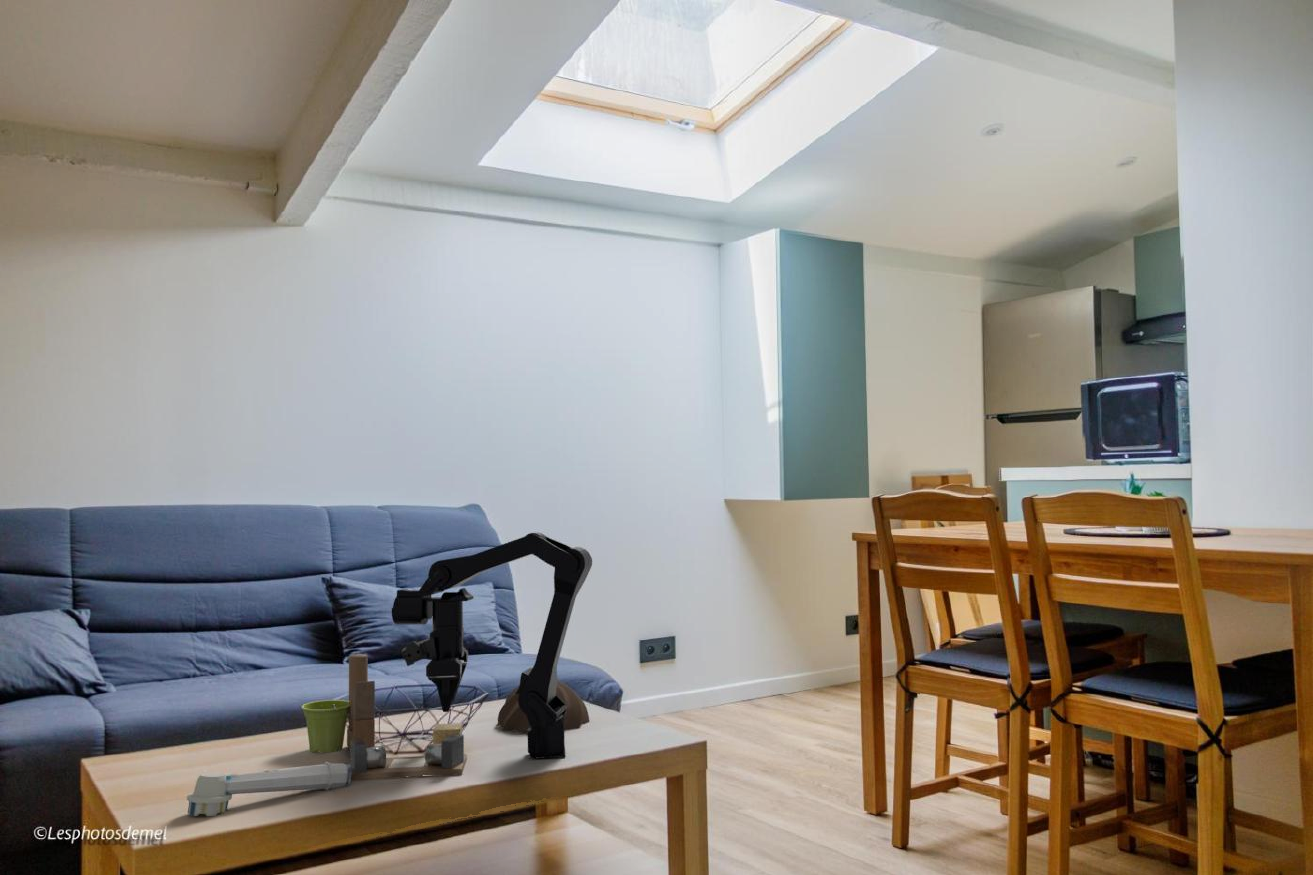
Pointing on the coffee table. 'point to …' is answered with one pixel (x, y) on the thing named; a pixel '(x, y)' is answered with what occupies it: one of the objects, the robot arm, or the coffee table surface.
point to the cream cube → (446, 731)
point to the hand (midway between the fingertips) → (448, 706)
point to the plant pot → (326, 724)
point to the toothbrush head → (262, 784)
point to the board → (407, 769)
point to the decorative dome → (517, 719)
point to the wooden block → (361, 702)
